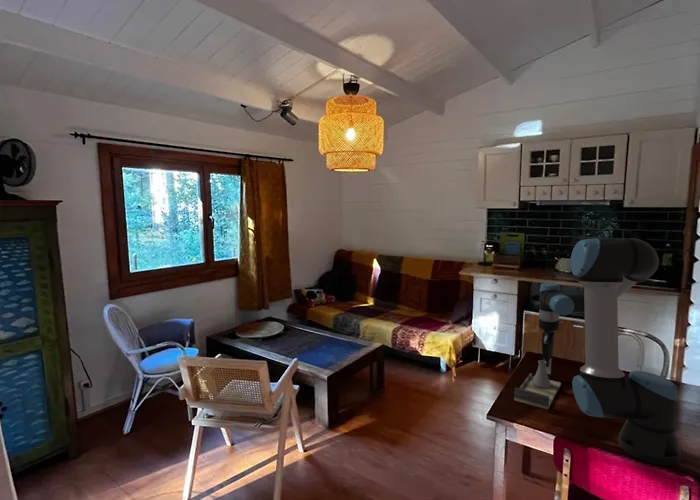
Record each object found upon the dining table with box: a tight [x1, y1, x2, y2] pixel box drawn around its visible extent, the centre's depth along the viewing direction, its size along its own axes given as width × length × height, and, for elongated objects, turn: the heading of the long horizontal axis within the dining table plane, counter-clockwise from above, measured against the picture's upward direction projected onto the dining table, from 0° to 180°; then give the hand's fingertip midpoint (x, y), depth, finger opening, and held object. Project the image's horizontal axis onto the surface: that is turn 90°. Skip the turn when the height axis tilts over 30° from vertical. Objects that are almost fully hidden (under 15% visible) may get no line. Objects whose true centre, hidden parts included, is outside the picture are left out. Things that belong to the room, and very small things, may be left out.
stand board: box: [513, 372, 562, 410], centre depth 157 cm, size 24×12×5 cm, turn 142°
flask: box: [532, 359, 551, 388], centre depth 160 cm, size 7×7×10 cm
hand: (546, 372), depth 168 cm, fingers closed
